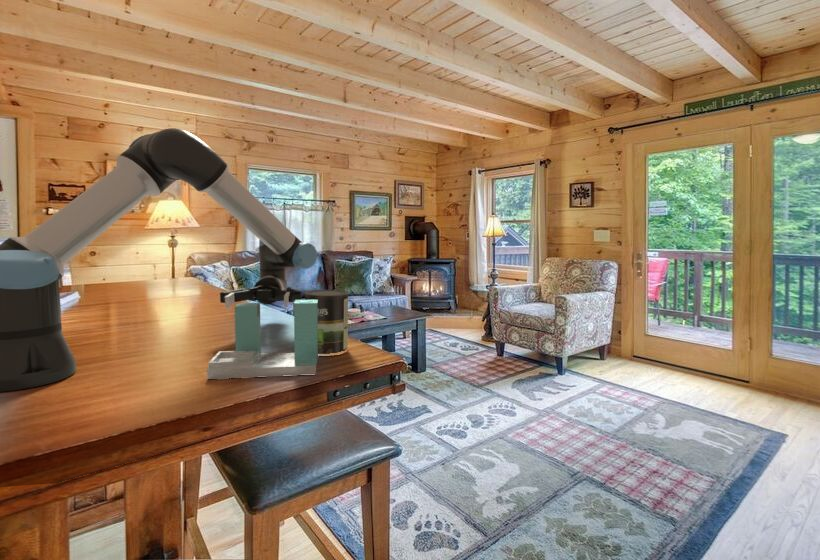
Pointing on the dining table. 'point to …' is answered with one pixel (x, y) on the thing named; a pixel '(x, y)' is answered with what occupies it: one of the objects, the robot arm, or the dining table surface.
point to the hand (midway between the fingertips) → (256, 301)
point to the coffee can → (331, 319)
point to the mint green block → (247, 327)
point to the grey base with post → (275, 363)
